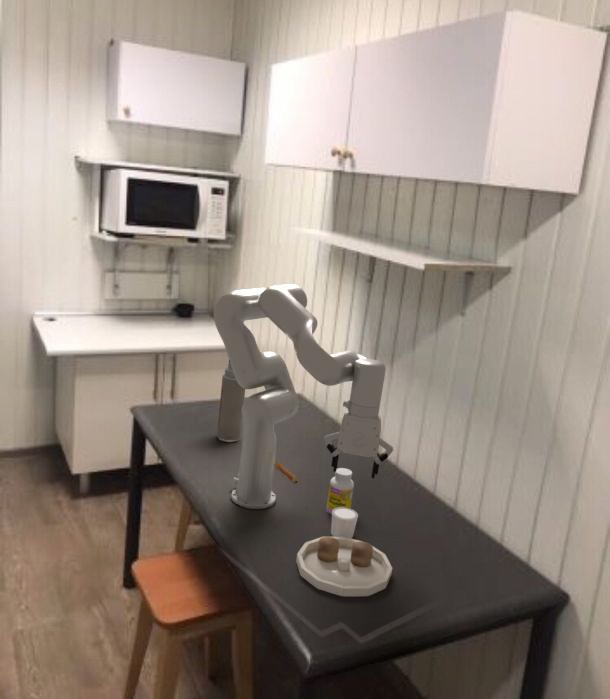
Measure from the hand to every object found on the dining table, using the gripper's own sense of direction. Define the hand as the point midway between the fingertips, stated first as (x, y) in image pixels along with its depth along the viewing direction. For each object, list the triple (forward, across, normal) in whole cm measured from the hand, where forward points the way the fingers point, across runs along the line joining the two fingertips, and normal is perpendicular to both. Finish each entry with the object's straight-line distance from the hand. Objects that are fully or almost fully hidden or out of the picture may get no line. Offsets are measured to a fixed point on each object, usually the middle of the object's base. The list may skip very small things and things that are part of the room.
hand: (354, 472), depth 173 cm
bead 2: (+18, +5, -10) cm, 21 cm away
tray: (+19, +1, -14) cm, 24 cm away
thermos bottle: (+20, -45, +55) cm, 73 cm away
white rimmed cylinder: (+20, -1, +2) cm, 20 cm away
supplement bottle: (+20, -3, +14) cm, 24 cm away
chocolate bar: (+20, -21, +34) cm, 45 cm away
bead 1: (+18, -3, -11) cm, 21 cm away
